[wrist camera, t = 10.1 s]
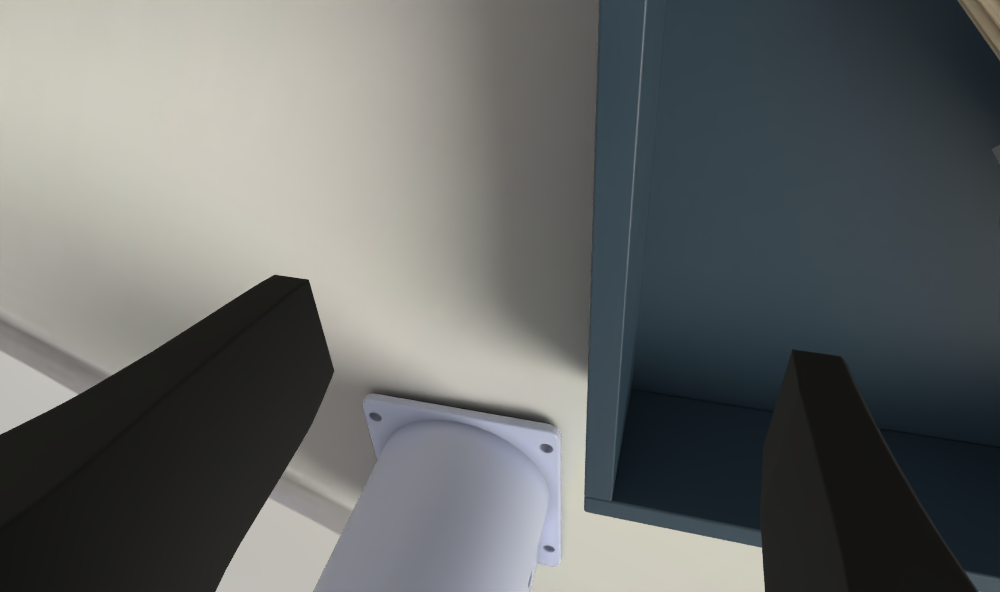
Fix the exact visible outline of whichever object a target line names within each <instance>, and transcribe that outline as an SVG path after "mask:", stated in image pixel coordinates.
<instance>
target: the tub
mask: <svg viewBox="0 0 1000 592" xmlns="http://www.w3.org/2000/svg"><path fill="white" fill-rule="evenodd" d="M999 145H1000V60H999V59H998V57H997V56H996V55H995V53H994V52H993V50H992V49H991V47H990V46H989V45H988V43H987V42H986V40H985V39H984V37H983V36H982V35H981V33H980V32H979V30H978V29H977V28H976V26H975V25H974V23H973V22H972V20H971V19H970V18H969V16H968V15H967V13H966V12H965V10H964V9H963V8H962V6H961V5H960V3H959V2H958V1H957V0H599V24H598V57H597V91H596V124H595V157H594V191H593V224H592V258H591V291H590V325H589V358H588V391H587V425H586V458H585V492H584V494H585V497H584V510H585V511H586V512H589V513H594V514H599V515H604V516H609V517H614V518H619V519H624V520H629V521H634V522H639V523H643V524H648V525H653V526H658V527H663V528H668V529H673V530H678V531H683V532H688V533H693V534H698V535H703V536H708V537H712V538H717V539H722V540H727V541H732V542H737V543H742V544H747V545H752V546H757V547H762V538H761V521H760V505H761V482H762V464H763V446H764V443H765V440H766V436H767V433H768V429H769V426H770V423H771V419H772V416H773V412H774V409H775V406H776V402H777V399H778V395H779V392H780V389H781V385H782V382H783V378H784V375H785V372H786V368H787V365H788V361H789V358H790V355H791V351H792V349H794V350H801V351H808V352H815V353H822V354H829V355H836V356H841V357H842V358H843V359H844V360H845V362H846V363H847V364H848V366H849V369H850V371H851V373H852V375H853V377H854V380H855V382H856V384H857V386H858V388H859V390H860V392H861V394H862V396H863V398H864V400H865V403H866V404H867V406H868V408H869V410H870V412H871V414H872V416H873V418H874V420H875V422H876V424H877V426H878V428H879V430H880V432H881V434H882V435H883V437H884V439H885V441H886V443H887V445H888V447H889V449H890V450H891V452H892V454H893V456H894V458H895V459H896V461H897V463H898V465H899V466H900V468H901V470H902V472H903V473H904V475H905V477H906V478H907V480H908V482H909V483H910V485H911V487H912V489H913V490H914V492H915V494H916V495H917V497H918V499H919V500H920V502H921V504H922V506H923V507H924V509H925V511H926V512H927V514H928V515H929V517H930V519H931V520H932V522H933V523H934V525H935V527H936V528H937V530H938V531H939V533H940V535H941V536H942V538H943V539H944V541H945V542H946V544H947V545H948V547H949V548H950V550H951V551H952V553H953V554H954V556H955V557H956V559H957V560H958V562H959V563H960V565H961V566H962V568H963V569H964V571H965V572H966V574H967V575H968V577H969V578H970V580H971V581H972V583H973V584H974V586H975V587H976V588H977V590H978V591H979V592H1000V163H999V162H998V160H997V158H996V156H995V154H994V153H993V151H992V149H993V148H995V147H997V146H999Z"/></svg>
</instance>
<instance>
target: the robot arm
mask: <svg viewBox="0 0 1000 592" xmlns="http://www.w3.org/2000/svg"><path fill="white" fill-rule="evenodd" d="M333 373H334V368H333V365H332V361H331V358H330V354H329V351H328V347H327V343H326V340H325V336H324V333H323V329H322V325H321V322H320V318H319V315H318V311H317V308H316V304H315V300H314V297H313V293H312V290H311V286H310V283H309V280H307V279H300V278H293V277H286V276H279V275H273V276H272V277H270V278H268V279H266V280H265V281H263V282H261V283H259V284H258V285H256V286H254V287H253V288H251V289H250V290H248V291H246V292H245V293H243V294H242V295H240V296H238V297H237V298H235V299H234V300H232V301H231V302H229V303H228V304H226V305H224V306H223V307H221V308H220V309H218V310H217V311H215V312H214V313H212V314H210V315H209V316H207V317H206V318H204V319H203V320H201V321H200V322H198V323H196V324H195V325H193V326H192V327H190V328H189V329H187V330H185V331H184V332H182V333H181V334H179V335H178V336H176V337H174V338H173V339H171V340H170V341H168V342H167V343H165V344H163V345H162V346H160V347H159V348H157V349H156V350H154V351H152V352H151V353H149V354H148V355H146V356H144V357H142V358H141V359H139V360H137V361H136V362H134V363H132V364H131V365H129V366H127V367H125V368H124V369H122V370H120V371H119V372H117V373H115V374H114V375H112V376H110V377H108V378H107V379H105V380H103V381H102V382H100V383H98V384H97V385H95V386H93V387H91V388H90V389H88V390H86V391H85V392H83V393H81V394H79V395H77V396H76V397H74V398H72V399H70V400H68V401H66V402H65V403H63V404H61V405H59V406H57V407H55V408H53V409H51V410H49V411H47V412H46V413H43V414H41V415H39V416H37V417H35V418H33V419H31V420H29V421H27V422H25V423H23V424H21V425H19V426H17V427H15V428H13V429H11V430H9V431H7V432H5V433H3V434H1V435H0V592H215V591H216V589H217V587H218V585H219V583H220V581H221V578H222V577H223V575H224V572H225V570H226V568H227V567H228V565H229V563H230V561H231V559H232V558H233V556H234V554H235V552H236V550H237V548H238V547H239V545H240V543H241V541H242V540H243V538H244V536H245V535H246V533H247V532H248V530H249V528H250V526H251V525H252V523H253V522H254V520H255V518H256V517H257V515H258V514H259V512H260V510H261V508H262V507H263V505H264V504H265V502H266V500H267V499H268V497H269V495H270V494H271V492H272V490H273V489H274V487H275V486H276V484H277V482H278V481H279V479H280V477H281V476H282V474H283V472H284V471H285V469H286V467H287V466H288V464H289V462H290V461H291V459H292V457H293V456H294V454H295V452H296V451H297V449H298V447H299V446H300V444H301V442H302V440H303V439H304V437H305V435H306V434H307V432H308V430H309V428H310V427H311V424H312V422H313V420H314V418H315V416H316V413H317V411H318V409H319V407H320V405H321V402H322V400H323V398H324V395H325V393H326V390H327V388H328V385H329V383H330V380H331V378H332V376H333ZM362 406H363V410H364V414H365V417H366V421H367V425H368V428H369V432H370V436H371V440H372V443H373V447H374V451H375V454H376V458H377V463H376V465H375V467H374V469H373V471H372V473H371V475H370V477H369V479H368V481H367V483H366V485H365V487H364V489H363V491H362V493H361V495H360V497H359V499H358V501H357V503H356V505H355V507H354V509H353V511H352V513H351V515H350V517H349V519H348V522H347V524H346V526H345V528H344V530H343V532H342V534H341V536H340V538H339V540H338V542H337V544H336V546H335V548H334V550H333V552H332V554H331V556H330V558H329V560H328V562H327V564H326V567H325V568H324V570H323V572H322V574H321V577H320V579H319V580H318V583H317V585H316V587H315V589H314V591H313V592H530V589H531V585H532V581H533V577H534V574H535V570H536V566H537V563H538V564H542V565H547V566H557V565H559V564H560V561H561V557H562V540H561V433H560V431H559V430H558V429H557V428H556V427H555V426H553V425H550V424H546V423H540V422H535V421H529V420H523V419H518V418H512V417H506V416H500V415H495V414H489V413H483V412H478V411H472V410H466V409H460V408H455V407H449V406H443V405H438V404H432V403H426V402H421V401H415V400H409V399H403V398H398V397H392V396H386V395H381V394H372V393H371V394H368V395H367V396H366V397H365V399H364V401H363V402H362ZM760 521H761V538H762V553H763V568H764V582H765V592H979V591H978V590H977V588H976V587H975V586H974V584H973V583H972V581H971V580H970V578H969V577H968V575H967V574H966V572H965V571H964V569H963V568H962V566H961V565H960V563H959V562H958V560H957V559H956V557H955V556H954V554H953V553H952V551H951V550H950V548H949V547H948V545H947V544H946V542H945V541H944V539H943V538H942V536H941V535H940V533H939V531H938V530H937V528H936V527H935V525H934V523H933V522H932V520H931V519H930V517H929V515H928V514H927V512H926V511H925V509H924V507H923V506H922V504H921V502H920V500H919V499H918V497H917V495H916V494H915V492H914V490H913V489H912V487H911V485H910V483H909V482H908V480H907V478H906V477H905V475H904V473H903V472H902V470H901V468H900V466H899V465H898V463H897V461H896V459H895V458H894V456H893V454H892V452H891V450H890V449H889V447H888V445H887V443H886V441H885V439H884V437H883V435H882V434H881V432H880V430H879V428H878V426H877V424H876V422H875V420H874V418H873V416H872V414H871V412H870V410H869V408H868V406H867V404H866V403H865V400H864V398H863V396H862V394H861V392H860V390H859V388H858V386H857V384H856V382H855V380H854V377H853V375H852V373H851V371H850V369H849V366H848V364H847V363H846V362H845V360H844V359H843V358H842V357H841V356H836V355H829V354H822V353H815V352H808V351H801V350H794V349H792V351H791V355H790V358H789V361H788V365H787V368H786V372H785V375H784V378H783V382H782V385H781V389H780V392H779V395H778V399H777V402H776V406H775V409H774V412H773V416H772V419H771V423H770V426H769V429H768V433H767V436H766V440H765V443H764V446H763V464H762V482H761V505H760Z"/></svg>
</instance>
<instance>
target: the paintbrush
mask: <svg viewBox="0 0 1000 592" xmlns="http://www.w3.org/2000/svg"><path fill="white" fill-rule="evenodd" d="M957 1H958V2H959V3H960V5H961V6H962V8H963V9H964V10H965V12H966V13H967V15H968V16H969V18H970V19H971V20H972V22H973V23H974V25H975V26H976V28H977V29H978V30H979V32H980V33H981V35H982V36H983V37H984V39H985V40H986V42H987V43H988V45H989V46H990V47H991V49H992V50H993V52H994V53H995V55H996V56H997V57H998V59H999V60H1000V0H957ZM992 151H993V153H994V154H995V156H996V158H997V160H998V162H999V163H1000V145H999V146H997V147H995V148H993V149H992Z"/></svg>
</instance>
